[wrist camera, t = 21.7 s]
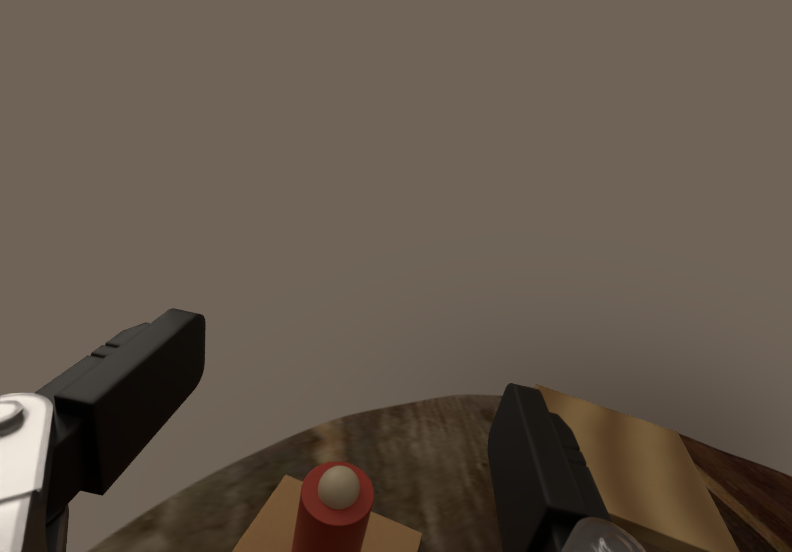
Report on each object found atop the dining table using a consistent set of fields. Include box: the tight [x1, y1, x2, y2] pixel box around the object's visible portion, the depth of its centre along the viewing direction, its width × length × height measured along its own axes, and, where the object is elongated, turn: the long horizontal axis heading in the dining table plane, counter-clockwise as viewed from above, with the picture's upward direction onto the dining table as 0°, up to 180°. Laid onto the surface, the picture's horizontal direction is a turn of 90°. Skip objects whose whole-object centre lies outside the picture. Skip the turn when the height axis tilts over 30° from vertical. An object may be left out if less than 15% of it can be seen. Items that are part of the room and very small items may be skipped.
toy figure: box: [291, 462, 374, 552], centre depth 27 cm, size 5×5×8 cm
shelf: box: [535, 384, 739, 552], centre depth 32 cm, size 12×12×10 cm
